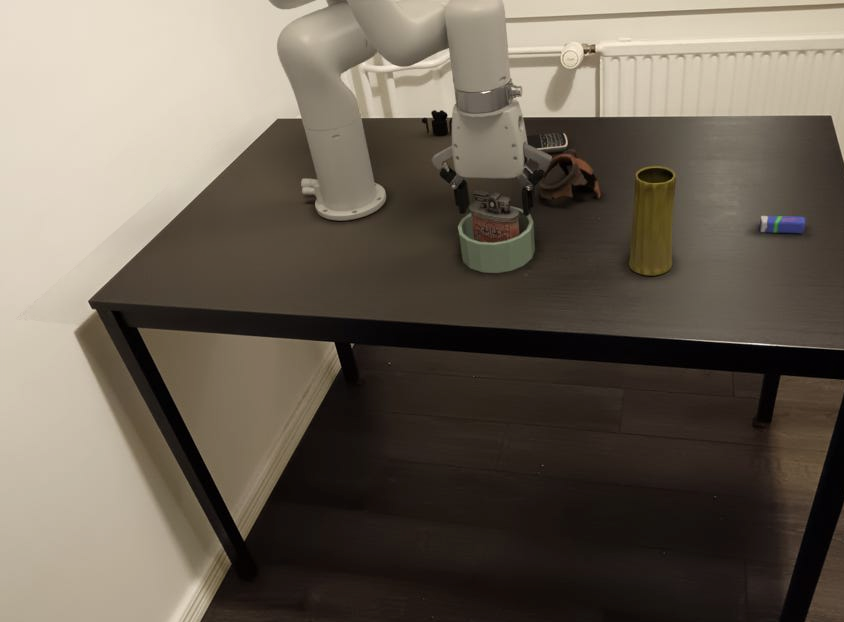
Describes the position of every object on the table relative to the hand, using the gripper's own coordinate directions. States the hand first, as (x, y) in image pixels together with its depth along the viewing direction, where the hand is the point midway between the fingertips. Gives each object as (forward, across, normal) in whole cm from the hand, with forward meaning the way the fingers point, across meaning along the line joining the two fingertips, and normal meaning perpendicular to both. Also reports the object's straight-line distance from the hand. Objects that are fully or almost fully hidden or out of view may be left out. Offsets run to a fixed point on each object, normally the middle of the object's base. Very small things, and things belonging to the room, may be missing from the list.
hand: (496, 210), depth 111 cm
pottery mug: (+8, -8, -19) cm, 22 cm away
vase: (+8, -22, +1) cm, 24 cm away
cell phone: (+7, +2, -36) cm, 37 cm away
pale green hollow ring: (+7, 0, 0) cm, 8 cm away
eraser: (+8, -40, -10) cm, 43 cm away
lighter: (+8, 0, 0) cm, 8 cm away
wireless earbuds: (+7, +22, -42) cm, 48 cm away
